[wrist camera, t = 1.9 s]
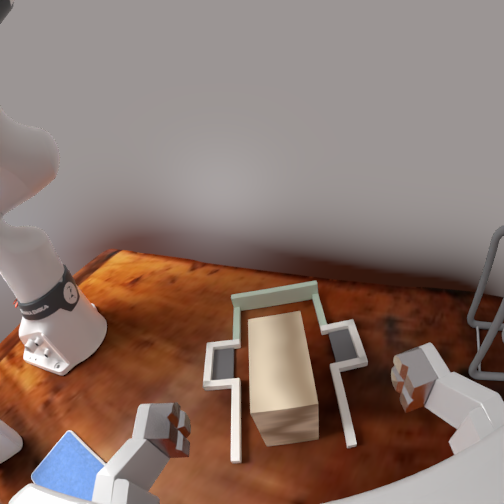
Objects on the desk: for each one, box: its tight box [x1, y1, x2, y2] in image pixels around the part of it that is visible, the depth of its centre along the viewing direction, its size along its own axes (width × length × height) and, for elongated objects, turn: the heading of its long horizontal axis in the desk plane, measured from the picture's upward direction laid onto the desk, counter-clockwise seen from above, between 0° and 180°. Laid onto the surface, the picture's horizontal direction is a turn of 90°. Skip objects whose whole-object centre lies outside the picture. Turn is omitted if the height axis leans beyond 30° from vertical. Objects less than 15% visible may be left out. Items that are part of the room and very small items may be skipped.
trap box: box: [203, 280, 368, 463], centre depth 37 cm, size 22×27×3 cm
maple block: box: [248, 311, 319, 446], centre depth 31 cm, size 6×12×10 cm, turn 1°
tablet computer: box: [31, 430, 106, 501], centre depth 23 cm, size 19×13×1 cm, turn 62°
